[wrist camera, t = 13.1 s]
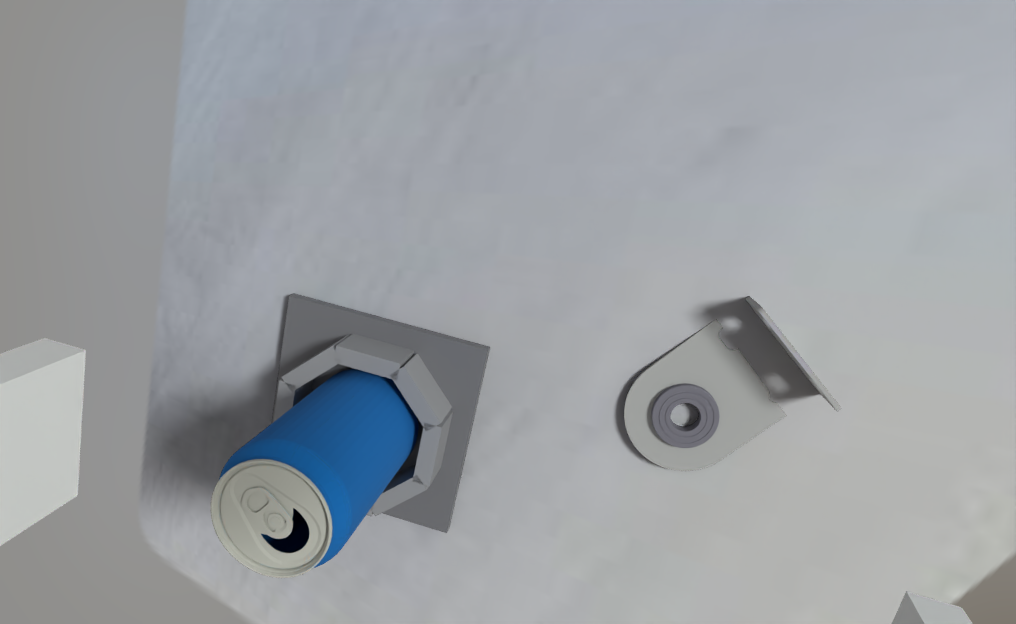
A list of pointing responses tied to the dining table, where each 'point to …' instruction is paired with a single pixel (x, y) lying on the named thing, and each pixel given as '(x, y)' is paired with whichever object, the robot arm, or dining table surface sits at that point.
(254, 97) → the dining table surface
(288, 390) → the cup holder
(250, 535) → the beverage can
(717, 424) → the bracket
